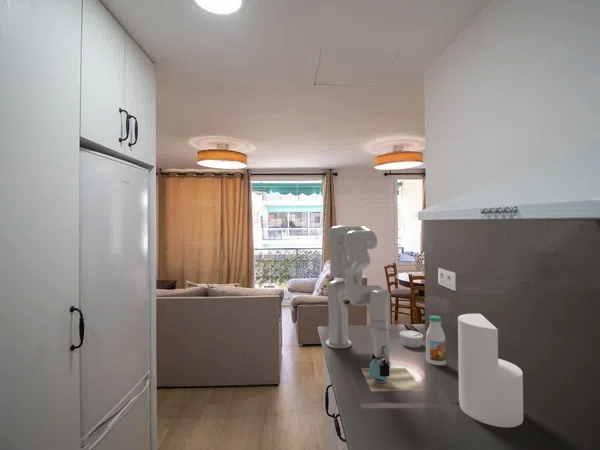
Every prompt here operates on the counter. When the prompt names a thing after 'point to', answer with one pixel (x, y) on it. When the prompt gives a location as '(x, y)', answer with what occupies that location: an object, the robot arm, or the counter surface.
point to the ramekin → (411, 338)
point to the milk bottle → (435, 342)
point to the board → (393, 381)
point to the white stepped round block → (487, 375)
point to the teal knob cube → (376, 369)
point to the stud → (379, 381)
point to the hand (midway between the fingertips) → (380, 370)
